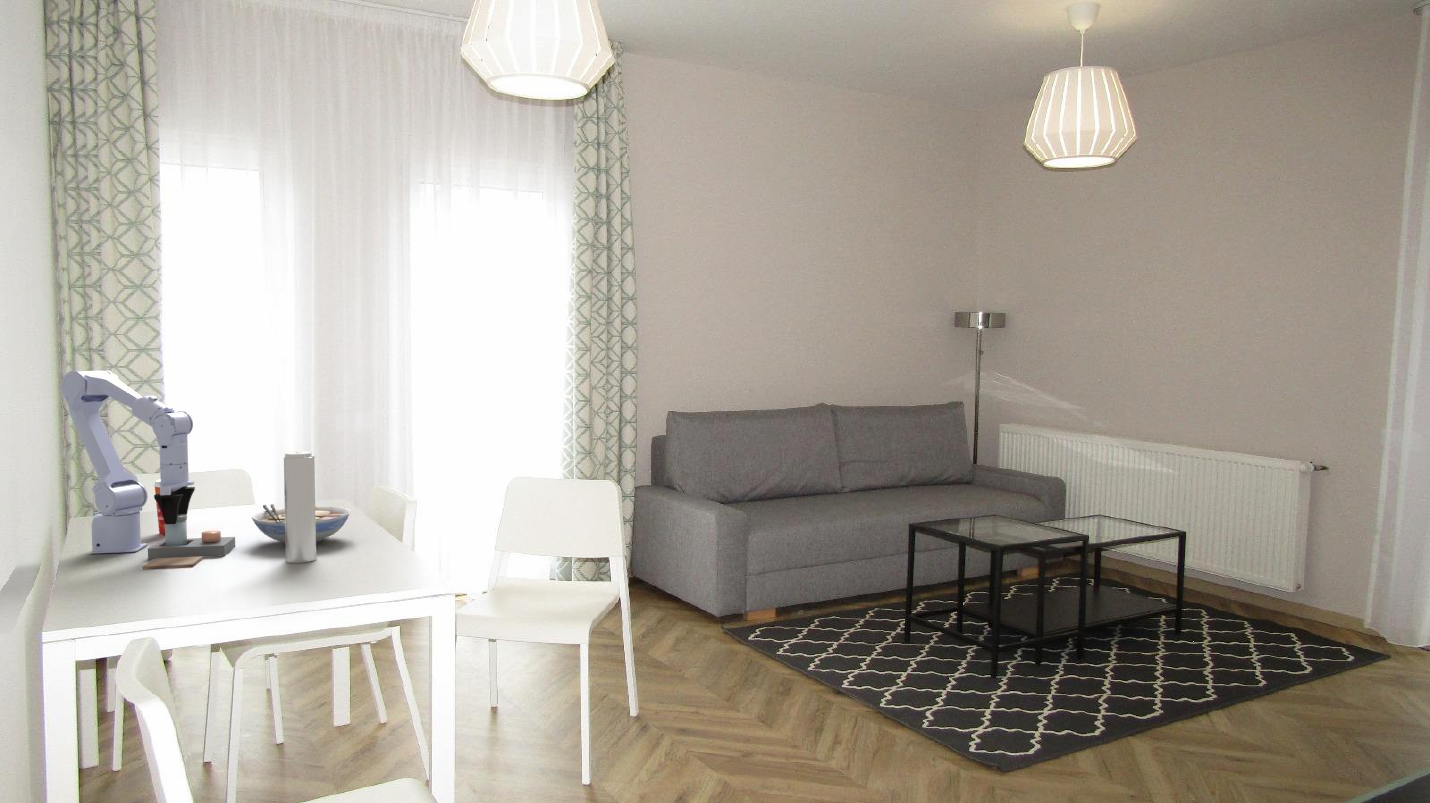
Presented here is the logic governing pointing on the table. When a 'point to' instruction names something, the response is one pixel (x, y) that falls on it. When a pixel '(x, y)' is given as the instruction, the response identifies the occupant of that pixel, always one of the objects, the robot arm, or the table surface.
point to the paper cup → (159, 510)
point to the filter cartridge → (176, 532)
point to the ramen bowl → (326, 517)
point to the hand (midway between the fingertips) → (175, 520)
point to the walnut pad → (172, 562)
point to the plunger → (211, 536)
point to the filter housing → (192, 548)
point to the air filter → (299, 507)
